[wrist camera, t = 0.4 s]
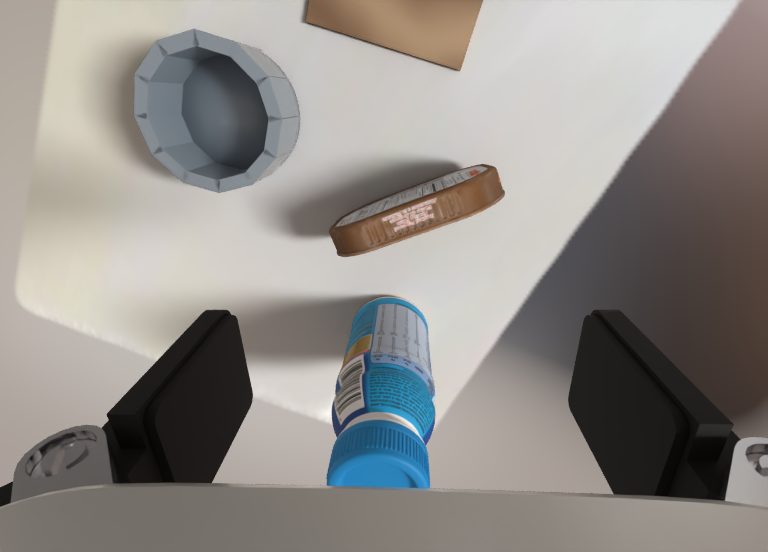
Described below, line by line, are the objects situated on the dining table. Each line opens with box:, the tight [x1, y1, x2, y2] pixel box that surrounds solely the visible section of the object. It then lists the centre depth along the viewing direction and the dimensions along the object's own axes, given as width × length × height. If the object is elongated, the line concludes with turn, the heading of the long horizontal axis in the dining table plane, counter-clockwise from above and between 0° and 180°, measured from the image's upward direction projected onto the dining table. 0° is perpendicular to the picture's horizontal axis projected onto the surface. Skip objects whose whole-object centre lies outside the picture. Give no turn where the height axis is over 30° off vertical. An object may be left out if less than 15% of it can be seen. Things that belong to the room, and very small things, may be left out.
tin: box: [329, 164, 505, 257], centre depth 34 cm, size 15×3×8 cm, turn 112°
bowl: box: [134, 29, 300, 193], centre depth 33 cm, size 11×11×6 cm
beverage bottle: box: [327, 297, 435, 488], centre depth 34 cm, size 8×8×20 cm
